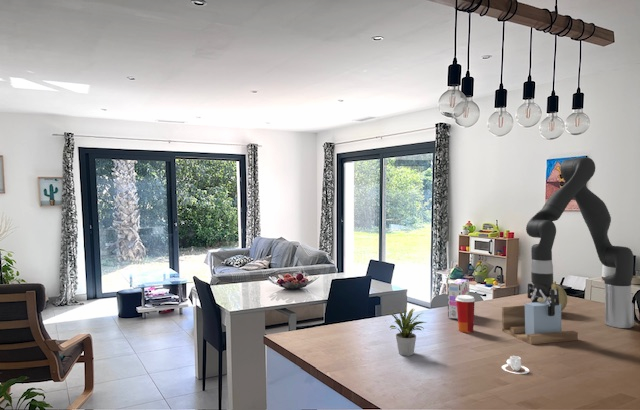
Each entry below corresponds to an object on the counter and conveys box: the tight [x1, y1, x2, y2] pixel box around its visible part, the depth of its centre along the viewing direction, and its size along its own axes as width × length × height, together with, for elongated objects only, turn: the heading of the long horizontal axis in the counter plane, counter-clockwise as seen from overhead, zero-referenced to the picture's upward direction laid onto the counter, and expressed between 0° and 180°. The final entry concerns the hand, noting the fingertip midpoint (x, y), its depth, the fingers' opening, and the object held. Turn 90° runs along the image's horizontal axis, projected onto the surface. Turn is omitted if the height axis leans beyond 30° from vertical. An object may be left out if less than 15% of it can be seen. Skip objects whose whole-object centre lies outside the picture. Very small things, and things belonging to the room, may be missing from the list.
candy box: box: [447, 278, 470, 321], centre depth 195 cm, size 14×6×16 cm, turn 143°
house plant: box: [388, 305, 428, 356], centre depth 147 cm, size 14×14×16 cm
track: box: [501, 304, 579, 345], centre depth 165 cm, size 17×20×10 cm
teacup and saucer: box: [501, 355, 530, 375], centre depth 132 cm, size 9×8×4 cm
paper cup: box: [455, 294, 476, 334], centre depth 173 cm, size 8×8×14 cm
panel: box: [524, 301, 563, 335], centre depth 163 cm, size 12×5×12 cm, turn 101°
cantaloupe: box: [537, 281, 568, 312], centre depth 198 cm, size 15×15×15 cm
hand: (543, 313), depth 163 cm, fingers open, 8 cm apart
